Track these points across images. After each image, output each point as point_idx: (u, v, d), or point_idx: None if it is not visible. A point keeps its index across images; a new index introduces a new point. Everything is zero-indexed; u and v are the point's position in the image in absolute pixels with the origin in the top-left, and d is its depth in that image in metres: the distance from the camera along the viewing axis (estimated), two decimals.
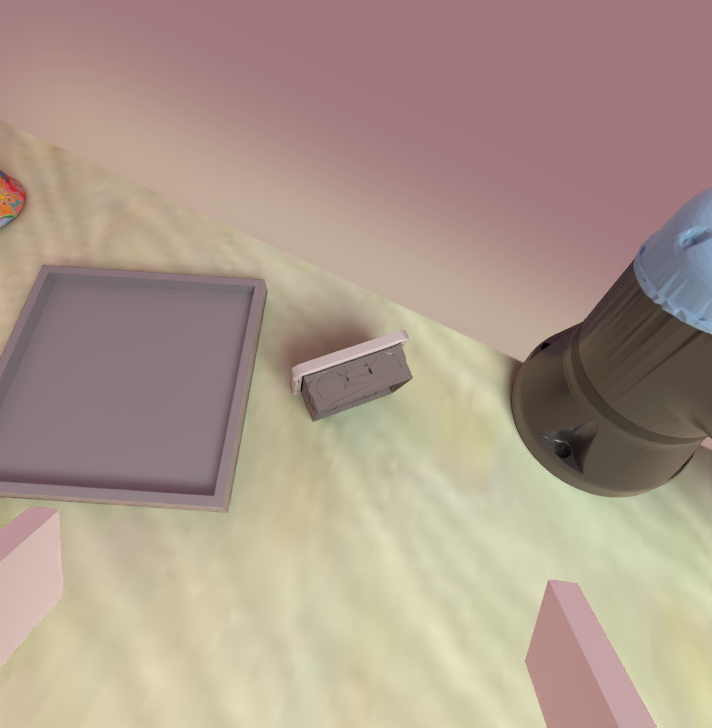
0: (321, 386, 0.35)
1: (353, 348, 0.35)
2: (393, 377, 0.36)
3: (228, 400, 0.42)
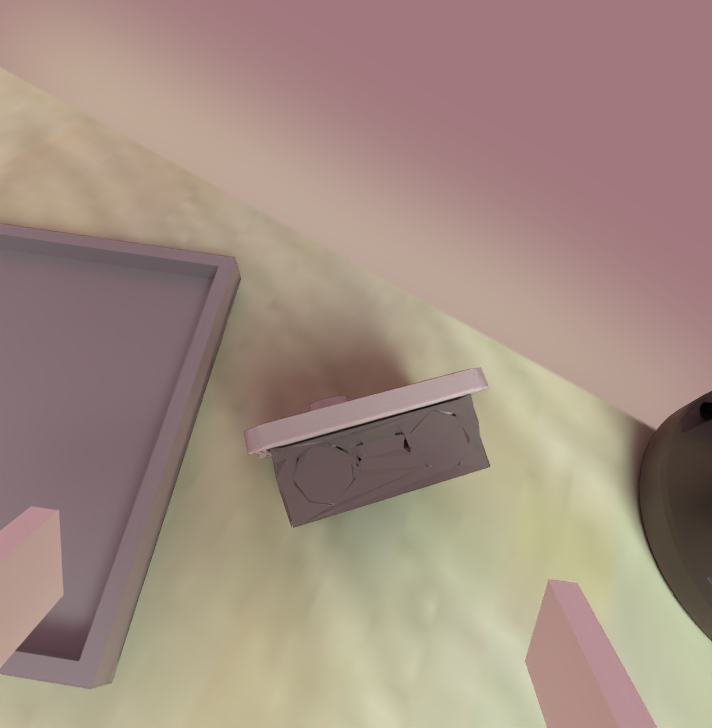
0: (304, 472, 0.17)
1: (376, 399, 0.17)
2: (451, 464, 0.18)
3: (146, 458, 0.24)
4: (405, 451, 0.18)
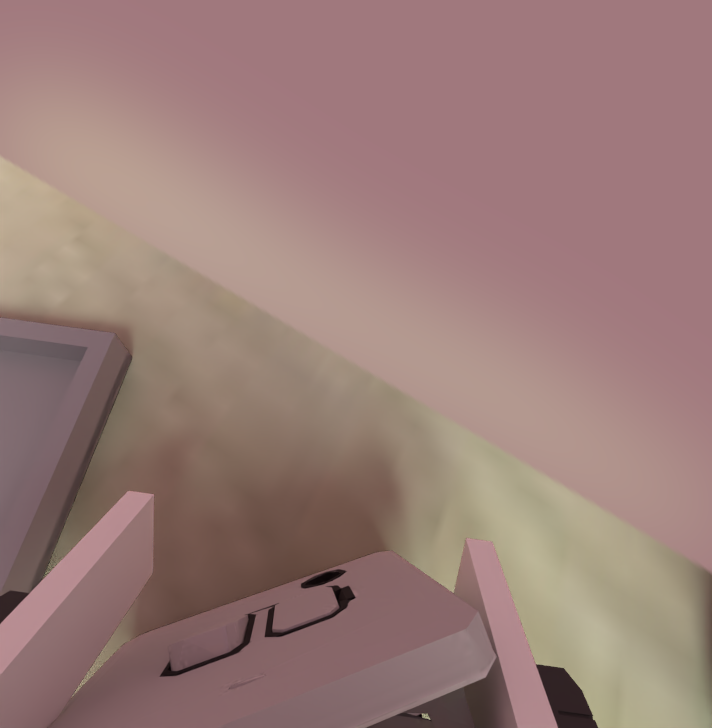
0: None
1: (256, 726, 0.08)
2: None
3: None
4: None
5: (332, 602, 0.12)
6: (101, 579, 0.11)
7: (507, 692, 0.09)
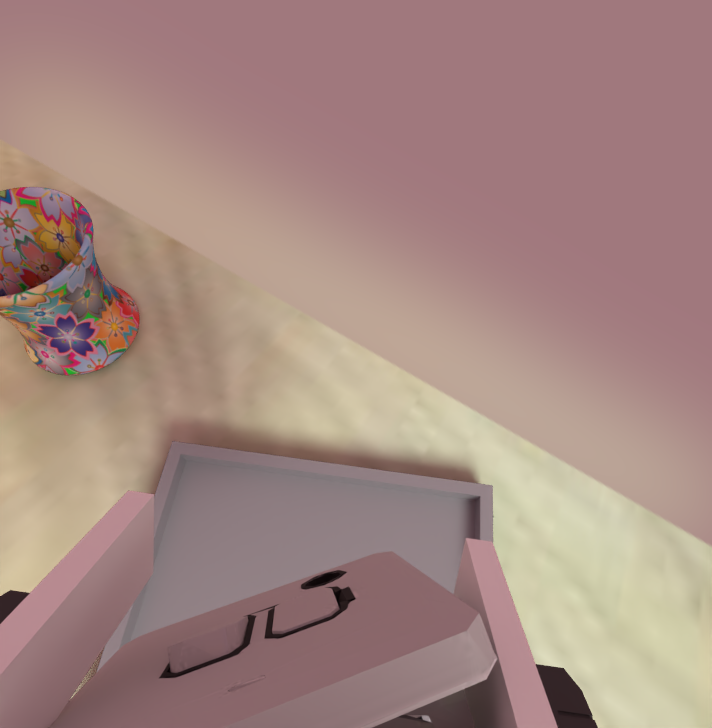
0: None
1: None
2: None
3: None
4: None
5: (332, 603, 0.12)
6: (101, 579, 0.11)
7: (507, 692, 0.09)
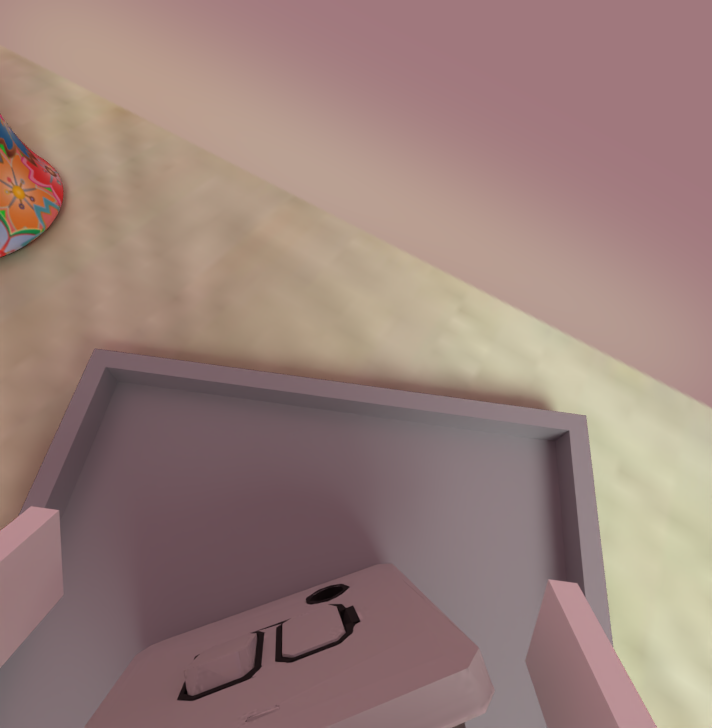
0: None
1: None
2: None
3: None
4: None
5: (338, 626, 0.13)
6: None
7: None
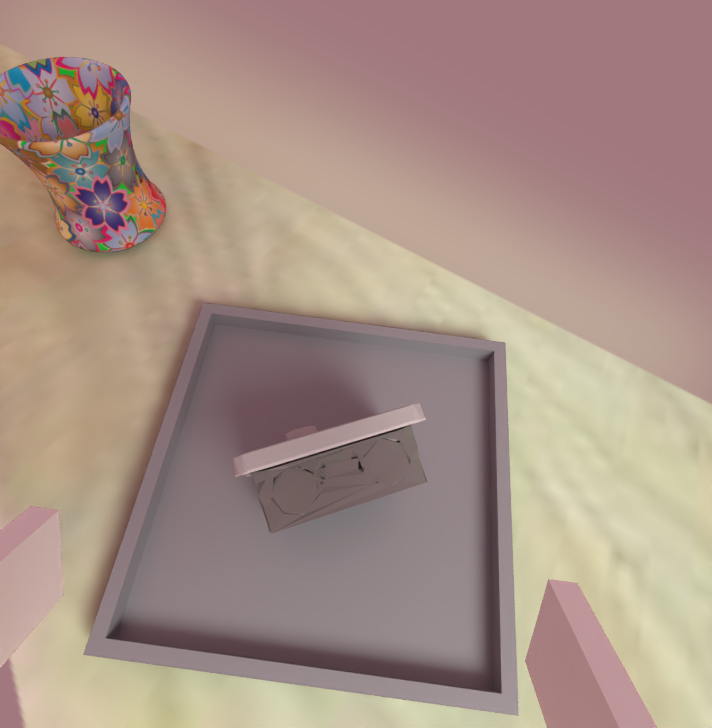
0: (279, 490, 0.22)
1: (335, 431, 0.22)
2: (396, 480, 0.23)
3: (478, 521, 0.29)
4: (359, 471, 0.23)
5: None
6: None
7: None
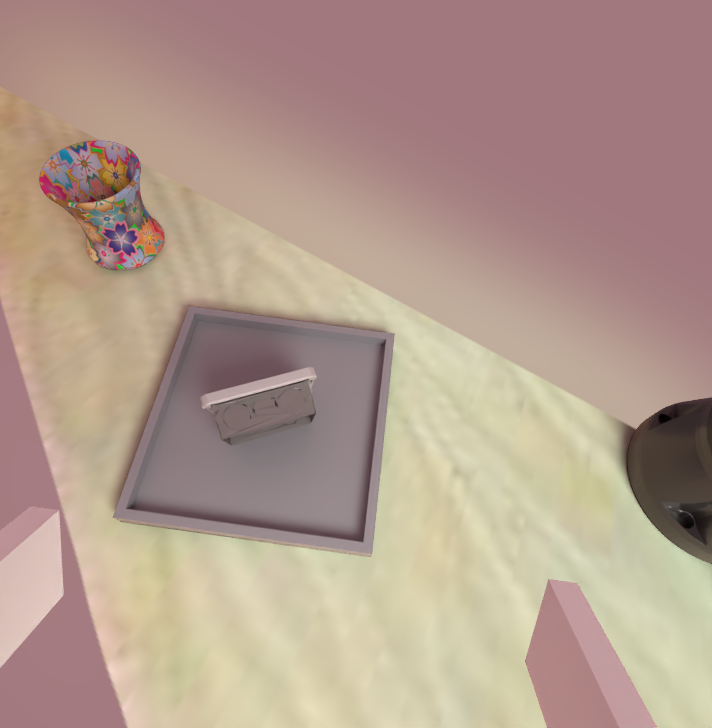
0: (227, 415, 0.38)
1: (260, 382, 0.38)
2: (297, 411, 0.39)
3: (365, 448, 0.45)
4: (275, 406, 0.38)
5: None
6: None
7: None
